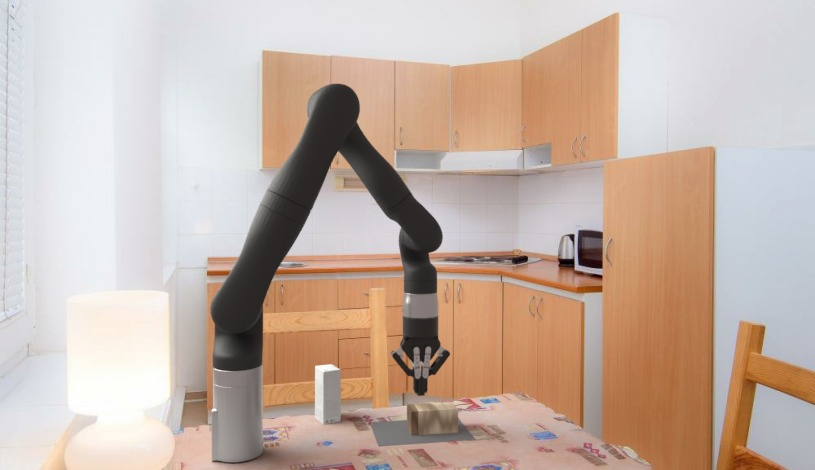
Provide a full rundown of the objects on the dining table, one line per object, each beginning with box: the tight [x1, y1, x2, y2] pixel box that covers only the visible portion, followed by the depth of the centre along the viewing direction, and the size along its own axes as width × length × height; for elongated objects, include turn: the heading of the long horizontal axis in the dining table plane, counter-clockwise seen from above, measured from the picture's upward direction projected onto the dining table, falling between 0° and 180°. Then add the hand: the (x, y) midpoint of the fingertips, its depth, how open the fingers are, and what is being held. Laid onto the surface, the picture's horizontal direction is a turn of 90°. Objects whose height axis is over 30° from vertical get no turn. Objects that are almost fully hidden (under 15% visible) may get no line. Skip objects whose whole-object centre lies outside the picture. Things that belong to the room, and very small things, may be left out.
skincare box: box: [314, 363, 342, 425], centre depth 137 cm, size 6×4×12 cm
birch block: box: [406, 401, 459, 436], centre depth 130 cm, size 5×5×10 cm
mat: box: [369, 417, 476, 447], centre depth 129 cm, size 20×14×1 cm
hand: (420, 394), depth 129 cm, fingers closed
